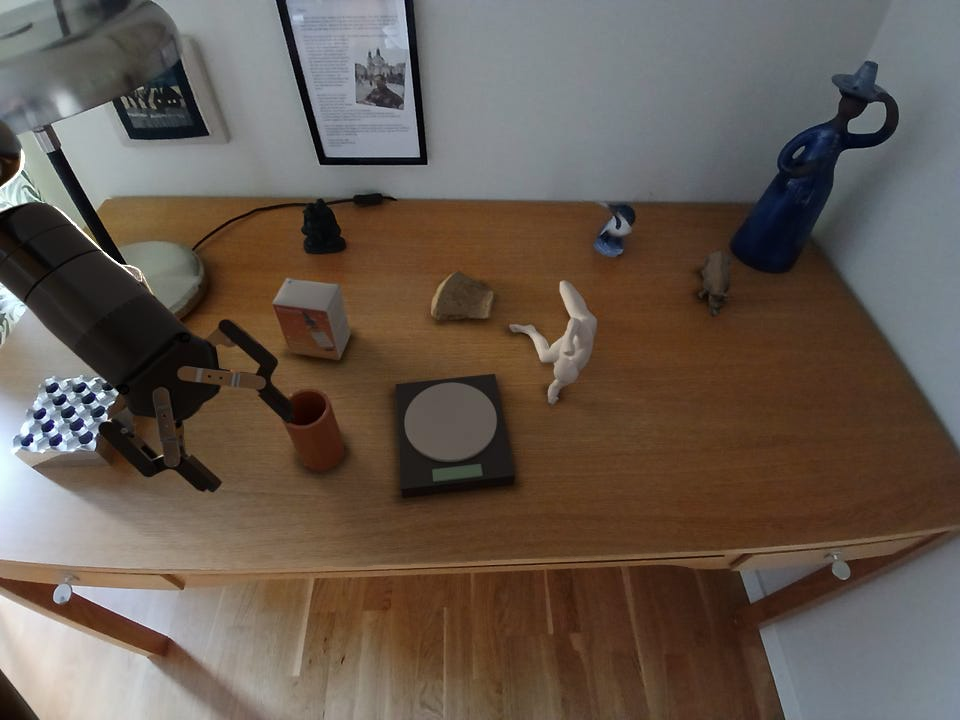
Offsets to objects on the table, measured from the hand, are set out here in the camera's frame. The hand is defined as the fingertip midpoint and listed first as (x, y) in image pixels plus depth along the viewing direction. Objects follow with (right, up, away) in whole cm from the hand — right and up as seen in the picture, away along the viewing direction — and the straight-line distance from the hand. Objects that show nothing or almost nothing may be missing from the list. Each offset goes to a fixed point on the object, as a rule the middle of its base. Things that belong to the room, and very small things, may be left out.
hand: (255, 453), depth 50 cm
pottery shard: (+18, +18, +41) cm, 48 cm away
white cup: (-32, +13, +36) cm, 49 cm away
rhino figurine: (+58, +18, +42) cm, 74 cm away
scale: (+17, -2, +24) cm, 29 cm away
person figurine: (+33, +8, +33) cm, 47 cm away
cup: (0, -4, +23) cm, 23 cm away
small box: (-4, +11, +35) cm, 36 cm away
